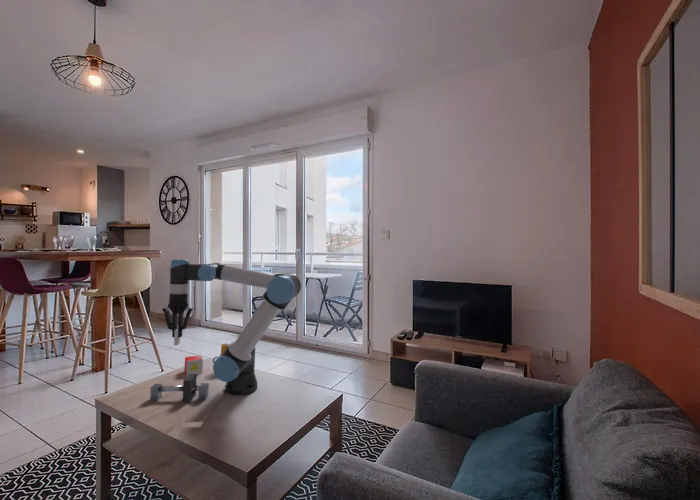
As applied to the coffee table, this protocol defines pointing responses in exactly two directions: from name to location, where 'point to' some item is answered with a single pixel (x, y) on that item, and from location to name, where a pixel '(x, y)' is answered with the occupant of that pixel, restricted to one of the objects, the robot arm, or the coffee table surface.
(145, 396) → the coffee table surface
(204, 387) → the rail
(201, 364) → the red gray cube
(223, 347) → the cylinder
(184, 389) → the dark gray notched block
